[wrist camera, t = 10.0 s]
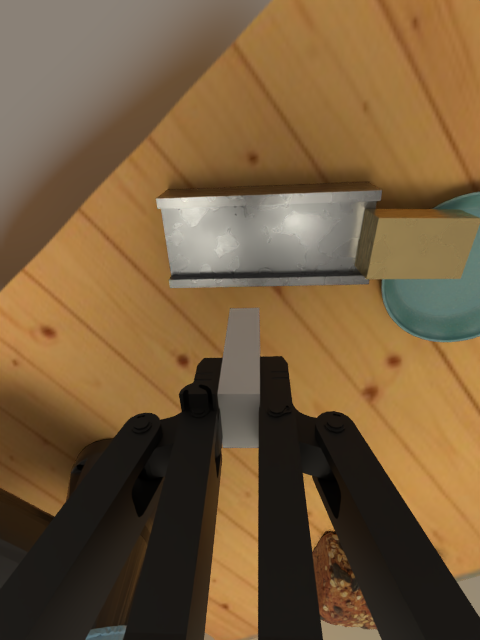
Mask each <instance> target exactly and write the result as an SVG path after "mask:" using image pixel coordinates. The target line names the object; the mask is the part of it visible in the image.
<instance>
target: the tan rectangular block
mask: <svg viewBox="0 0 480 640" xmlns="http://www.w3.org/2000/svg"><path fill="white" fill-rule="evenodd" d="M479 225H480V217H477V216H475V215H472V214H470V213H467V212H465V211H462V210H460V209H365V213H364V218H363V223H362V229H361V234H360V240H359V245H358V250H357V256H356V261H355V267H356V268H357V269H358V270H359V271H360V273H361V274H362V275H363V276H364V277H365V278H366V279H461V276H462V274H463V271H464V268H465V265H466V262H467V259H468V256H469V254H470V251H471V248H472V245H473V242H474V239H475V236H476V234H477V231H478V228H479Z"/></svg>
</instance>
